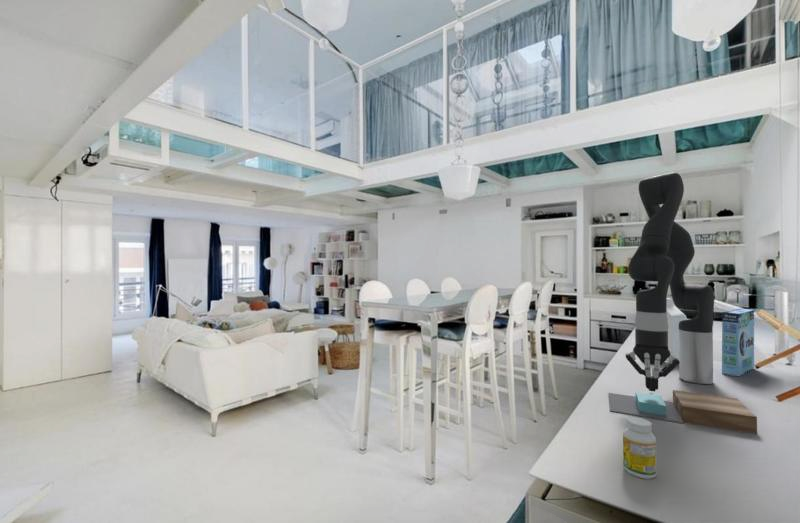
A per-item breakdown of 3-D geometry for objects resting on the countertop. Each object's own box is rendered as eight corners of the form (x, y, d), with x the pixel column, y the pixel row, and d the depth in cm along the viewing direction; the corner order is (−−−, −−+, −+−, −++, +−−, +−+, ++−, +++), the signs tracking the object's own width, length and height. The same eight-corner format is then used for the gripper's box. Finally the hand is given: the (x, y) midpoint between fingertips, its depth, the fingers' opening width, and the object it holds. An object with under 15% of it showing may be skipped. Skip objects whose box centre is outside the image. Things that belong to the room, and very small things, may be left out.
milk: (674, 364, 148) (674, 300, 148) (644, 358, 158) (644, 298, 159) (690, 361, 154) (689, 299, 154) (660, 355, 164) (659, 297, 164)
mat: (608, 393, 114) (608, 392, 114) (672, 402, 106) (672, 401, 106) (610, 411, 100) (610, 410, 100) (683, 423, 92) (683, 422, 92)
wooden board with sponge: (672, 404, 105) (672, 389, 105) (737, 413, 99) (736, 398, 99) (682, 422, 93) (682, 406, 93) (757, 434, 86) (756, 417, 87)
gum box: (738, 366, 146) (737, 308, 147) (755, 369, 142) (755, 309, 142) (721, 373, 136) (720, 311, 136) (739, 377, 131) (738, 313, 132)
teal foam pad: (660, 395, 104) (660, 404, 104) (635, 391, 107) (635, 400, 107) (666, 405, 96) (666, 415, 96) (639, 401, 99) (639, 411, 99)
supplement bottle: (654, 483, 67) (654, 429, 67) (620, 472, 70) (620, 421, 70) (657, 470, 71) (657, 420, 71) (625, 461, 74) (625, 413, 74)
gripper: (678, 327, 102) (678, 390, 102) (622, 324, 109) (623, 383, 108) (683, 332, 96) (684, 398, 96) (624, 327, 102) (624, 390, 102)
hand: (651, 390), depth 102 cm, fingers closed
